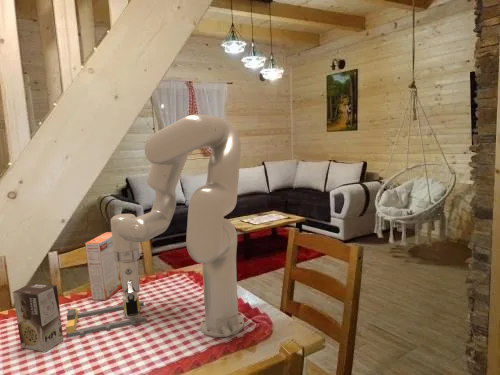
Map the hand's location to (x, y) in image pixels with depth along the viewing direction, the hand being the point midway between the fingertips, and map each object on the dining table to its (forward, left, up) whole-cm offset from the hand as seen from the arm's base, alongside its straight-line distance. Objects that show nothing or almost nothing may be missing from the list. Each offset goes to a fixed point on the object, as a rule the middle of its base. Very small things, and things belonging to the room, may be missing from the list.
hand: (131, 306), depth 116 cm
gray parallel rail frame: (0, +7, -3) cm, 7 cm away
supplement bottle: (0, 0, -3) cm, 3 cm away
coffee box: (-7, +24, -3) cm, 25 cm away
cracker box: (+22, +7, -3) cm, 23 cm away
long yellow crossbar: (0, +17, -3) cm, 17 cm away
